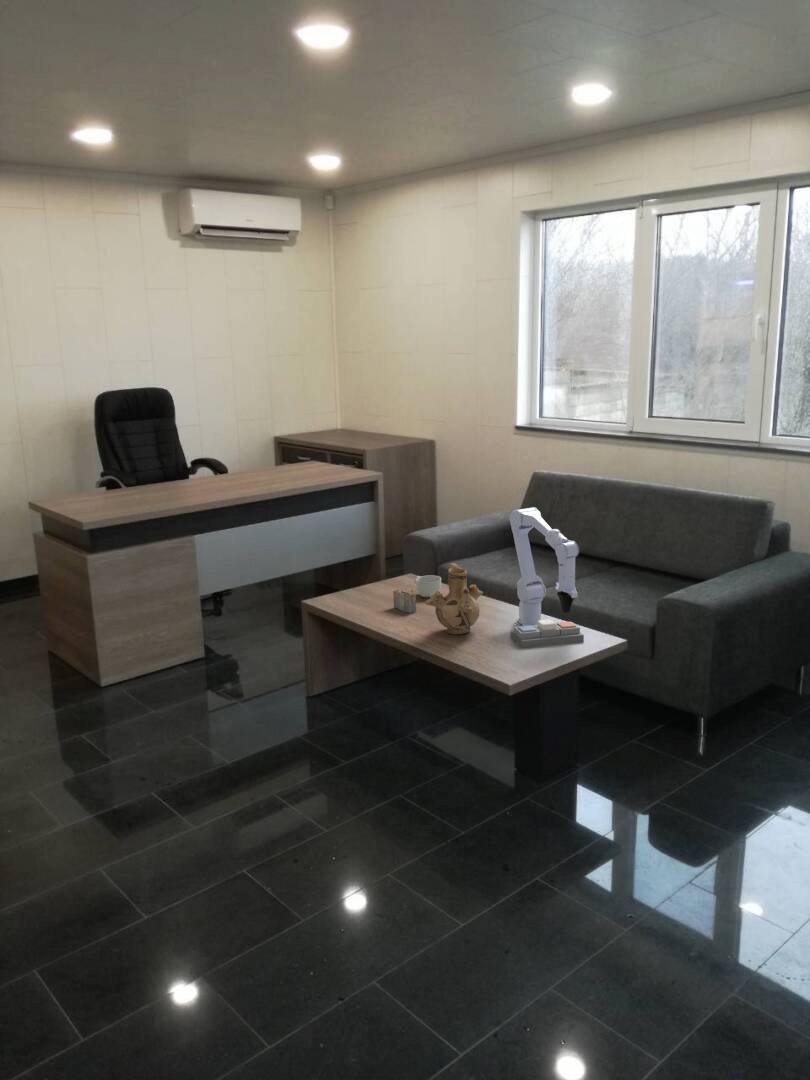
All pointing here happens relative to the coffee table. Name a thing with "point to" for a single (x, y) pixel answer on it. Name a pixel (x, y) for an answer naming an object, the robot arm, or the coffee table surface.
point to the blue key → (526, 628)
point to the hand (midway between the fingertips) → (566, 612)
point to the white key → (546, 624)
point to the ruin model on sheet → (405, 601)
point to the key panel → (547, 636)
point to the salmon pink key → (566, 625)
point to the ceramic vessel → (457, 602)
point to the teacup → (428, 585)
